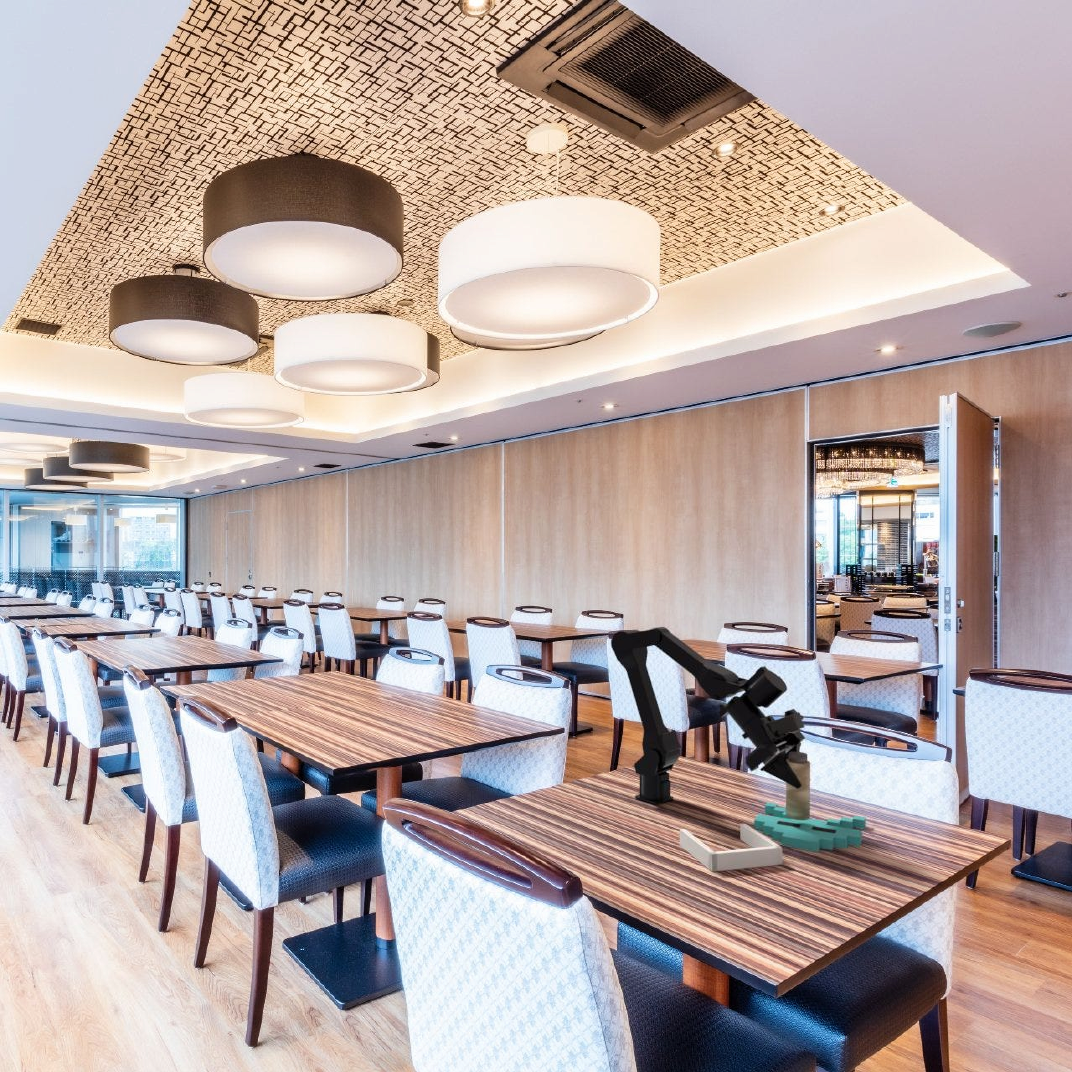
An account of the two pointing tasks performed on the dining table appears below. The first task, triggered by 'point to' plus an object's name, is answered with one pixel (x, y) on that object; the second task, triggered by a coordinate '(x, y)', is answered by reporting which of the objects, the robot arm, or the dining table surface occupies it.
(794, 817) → the pepper mill
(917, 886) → the dining table surface
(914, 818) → the dining table surface
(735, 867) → the u-shaped frame
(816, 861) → the dining table surface
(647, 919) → the dining table surface
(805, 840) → the alien figure
